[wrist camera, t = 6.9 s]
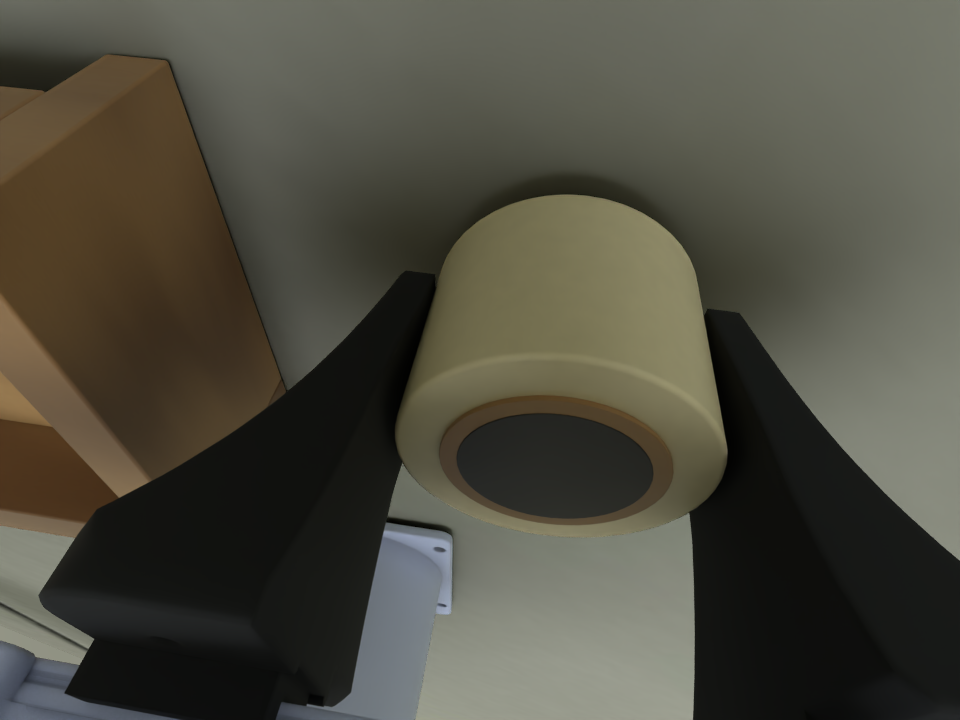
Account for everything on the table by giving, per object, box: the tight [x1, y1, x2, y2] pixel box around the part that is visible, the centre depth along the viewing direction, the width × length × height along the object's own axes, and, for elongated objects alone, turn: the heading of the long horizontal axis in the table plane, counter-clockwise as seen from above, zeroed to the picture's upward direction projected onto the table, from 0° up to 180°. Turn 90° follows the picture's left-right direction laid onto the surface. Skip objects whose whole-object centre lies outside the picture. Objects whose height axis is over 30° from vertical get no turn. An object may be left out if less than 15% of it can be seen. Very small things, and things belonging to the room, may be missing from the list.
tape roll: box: [395, 194, 728, 537], centre depth 10 cm, size 5×5×4 cm
